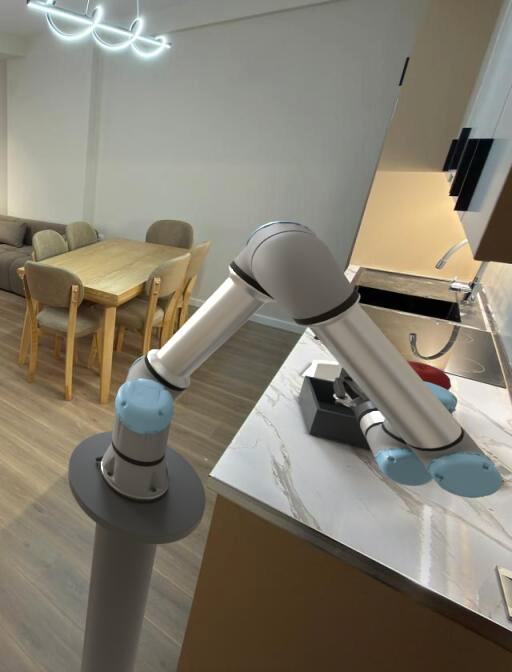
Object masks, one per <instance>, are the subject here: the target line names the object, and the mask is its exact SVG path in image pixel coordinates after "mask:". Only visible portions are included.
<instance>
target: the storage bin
mask: <svg viewBox="0 0 512 672" xmlns="http://www.w3.org/2000/svg"><path fill="white" fill-rule="evenodd" d="M333 384H334V381H330V380H325V379H321V378H316V377H311V376H306V375H305V377H303V381H302V384H301V389H300V391H299V394H298V401H299V404H300V407H301V408H300V409H301V411H302V413H303V414H302V415H303V418H304V421H305V425H306V429H307V431H308V434H309V435H311V436H314V437H315V436H316V437H320V438H323V439H327V440H331V441H334V442H339V443H343V444H346V445H349V446H354V447H357V448H362V449H365V450H369V451H372V450H371V448H370V446H369V444H368V442H367V440H366V438H365V436H364V434H363V432H362V429H361V427H360V426H359V424H358V422H357V419H356V417H355V414H354V411H353V410H352V409H350V407H348V406H346V405H344V404H341V405H337V404H335V401H336V398H335V397H334V396H333V395H334V394H335V391H334V388H333Z"/></svg>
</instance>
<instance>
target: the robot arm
mask: <svg viewBox="0 0 512 672" xmlns="http://www.w3.org/2000/svg"><path fill="white" fill-rule="evenodd" d="M228 273H229V275H228V277H227V278H226V279H225V280H224V281H223V282H222V283H221V285H220V286H218V288H216V290H215V291H214V292H213V293H212V294H210V296H209V297H208V298H207V299H206V301H204V302H203V304H201V305H200V307H199V308H198V309H197V310H195V312H194V313H193V314H192V315H191V316H190V317H189V318H188V319H187V321H186V322H185V323H184V324H182V326H180V328H179V329H178V330H177V331H176V332H175V333H174V334H173V335H172V336H171V338H169V340H167V342H166V343H164V345H162V347H161V348H159V349H157V348H156V349H155V348H154V349H153V348H152V349H150V350H149V351H148V352H147V353H146V354H145V355H142V356H141V357H139V358H137V359H135V361H134V362H133V363H132V364H131V366H130V367H129V369H128V371H127V374H126V380H125V382H124V383H123V384H122V385H121V386H120V387H119V388H118V391H117V394H116V398H115V401H114V406H115V407H114V410H115V411H114V419H113V429H112V431H113V435H112V443H111V444H110V446H109V448H108V449H107V451H106V453H105V455H104V456H100V457H96V461H102V462H101V475H102V478H103V480H104V482H105V483H106V485H107V486H108V487H109V488H110V489H111V490H112V491H113V492H114V493H116V494H117V495H119V496H120V497H122V498H124V499H127V500H129V501H133V502H137V503H152V502H155V501H158V500H160V499H161V498H163V497H164V496H165V495H166V493H167V491H168V487H169V481H170V478H169V473H168V464H166V460H165V452H166V446H168V440H169V436H170V435H169V434H170V428H171V423H172V420H173V417H174V411H175V409H174V408H175V407H174V402H175V400H176V399H177V398H178V397H179V396H180V395H181V394H182V393H183V392H184V391H185V390H186V389H188V387H190V385H191V375H192V374H193V373H194V372H195V371H196V370H197V369H198V368H200V366H201V365H203V364H204V363H205V361H206V360H208V359H209V358H210V357H211V356H212V355H213V354H214V353H215V352H216V351H217V350H218V349H219V348H220V347H221V346H222V345H223V344H225V343H226V341H228V340H229V339H230V338H231V337H232V336H233V335H234V334H235V333H236V332H237V331H238V330H239V329H240V328H241V327H243V326H244V325H245V324H246V323H247V322H249V320H250V319H251V318H252V317H253V316H254V315H256V314H257V313H258V311H260V309H262V307H264V306H265V305H266V304H267V303H277V304H278V305H279V306H281V308H282V309H283V310H284V311H285V312H286V313H287V314H288V315H289V316H290V318H292V320H293V321H294V322H295V323H296V324H297V325H298V326H299V327H305V328H308V329H310V331H311V332H312V334H314V335H315V336H316V338H317V339H318V340H319V341H320V343H321V344H322V345H323V346H324V347H325V348H326V349H327V351H328V352H329V353H330V355H331V356H332V357H333V358H334V359H335V361H338V362H339V364H340V365H341V366H342V369H341V372H340V376H339V378H338V377H336V378H335V381H334V384H333V388H334V391H335V395H336V401H335V404H337V405H341V404H346V405H348V406H349V407H350V409H352V410H353V411H354V414H355V417H356V419H357V422H358V424H359V426H360V427H361V429H362V432H363V434H364V436H365V438H366V440H367V442H368V444H369V446H370V448H371V450H370V451H371V453H372V455H373V457H374V458H373V459H374V461H375V463H376V464H377V465H378V467H379V468H380V470H381V472H382V473H383V474H384V476H385V477H387V478H388V480H391V481H392V482H394V483H397V484H399V485H403V486H408V487H418V486H425V485H427V484H428V483H430V482H431V481H432V480H433V481H435V483H436V484H437V485H438V486H439V487H440V488H441V489H443V490H444V491H446V492H447V493H449V494H452V495H454V496H457V497H462V498H469V499H477V498H478V499H479V498H484V497H488V496H492V495H494V494H495V493H497V492H498V491H500V489H501V488H502V485H503V476H502V474H501V472H500V470H499V469H498V468H497V466H496V464H495V463H494V461H493V460H492V459H491V458H490V457H489V456H488V455H486V453H485V452H484V451H483V450H482V448H481V447H480V446H479V445H478V444H477V443H476V442H475V440H474V439H473V438H472V437H471V436H470V434H469V433H468V432H467V431H466V430H465V429H464V428H463V426H461V424H460V422H458V420H457V419H456V417H454V416H453V413H454V412H456V409H457V404H458V398H457V396H456V395H455V394H454V393H453V392H452V391H450V390H447V389H445V388H443V387H440V386H438V385H435V384H432V383H429V382H425V381H423V380H422V379H421V378H420V377H419V376H418V374H417V373H416V372H415V371H414V370H413V368H412V367H411V366H410V365H409V364H408V363H407V361H408V360H406V359H405V358H404V356H403V355H402V354H401V353H400V351H399V350H398V349H397V348H396V347H395V345H394V344H393V343H392V342H391V341H390V340H389V338H388V337H387V336H386V335H385V334H384V332H382V330H380V328H379V327H378V325H377V324H376V323H375V322H374V320H373V319H371V317H370V316H369V315H368V314H367V312H366V311H365V310H364V309H363V308H362V307H361V305H360V304H359V302H360V299H361V294H360V293H359V291H357V289H356V288H355V287H354V286H353V284H352V283H351V281H350V280H349V278H348V277H347V276H346V275H345V273H344V271H343V270H342V268H341V267H340V265H339V263H338V261H337V260H336V258H335V256H334V254H333V253H332V251H331V250H330V248H329V247H328V245H327V244H326V243H325V242H324V241H323V240H322V239H320V238H319V237H318V236H317V234H316V232H315V231H313V230H311V229H310V228H309V227H308V226H306V225H303V224H302V223H299V222H295V221H291V220H275V221H271V222H267V223H265V224H263V225H261V226H259V227H257V229H256V230H254V231H253V232H252V233H251V234H250V235H249V237H248V239H247V241H246V243H245V248H244V249H243V250H241V252H240V253H239V254H238V255H236V257H235V258H234V260H232V261H231V263H229V264H228ZM352 379H353V380H354V381H355V383H356V384H357V385H358V386H359V387H360V389H361V390H362V391H363V392H364V393H365V394H364V393H363V392H360V391H359V390H358V388H357V387H356V386H355V385H354V384H353V383H352ZM346 393H347V394H348V395H349V397H350V398H351V399H352V401H350V400H349V399H348V398H347V397H348V395H346Z"/></svg>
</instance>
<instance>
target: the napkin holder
mask: <svg viewBox="0 0 512 672" xmlns="http://www.w3.org/2000/svg"><path fill="white" fill-rule="evenodd" d="M312 360H313V361H312V363H311V364H310V366H308V367H307V369H305V371H304V372H303V373H302V374H301V377H303V378H305V375H306V376H311V377H316V378H321V379H325V380H330V381H335V378H336V377H338V378H339V376H340V372H341V369H342V366H341V365H340V364H339V362H338V361H337V360H325V359H312Z"/></svg>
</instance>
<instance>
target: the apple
mask: <svg viewBox="0 0 512 672" xmlns="http://www.w3.org/2000/svg"><path fill="white" fill-rule="evenodd" d="M406 361H407V363H408V364H409V365H410V366H411V367H412V368H413V370H414V371H415V372H416V373H417V374H418V376H419V377H420V378H421V379H422V380H423V381H425V382H429V383H432V384H435V385H438V386H440V387H443V388H445V389H447V390H448V391H450V389H451V388H452V383H451V378H450V377H449V376H448V375H447V373H445V372H444V371H443V370H441V369H440V368H437V367H435V366H433V365H431V364H426V363H423V362H418V361H415V360H413V361H412V360H406Z"/></svg>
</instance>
